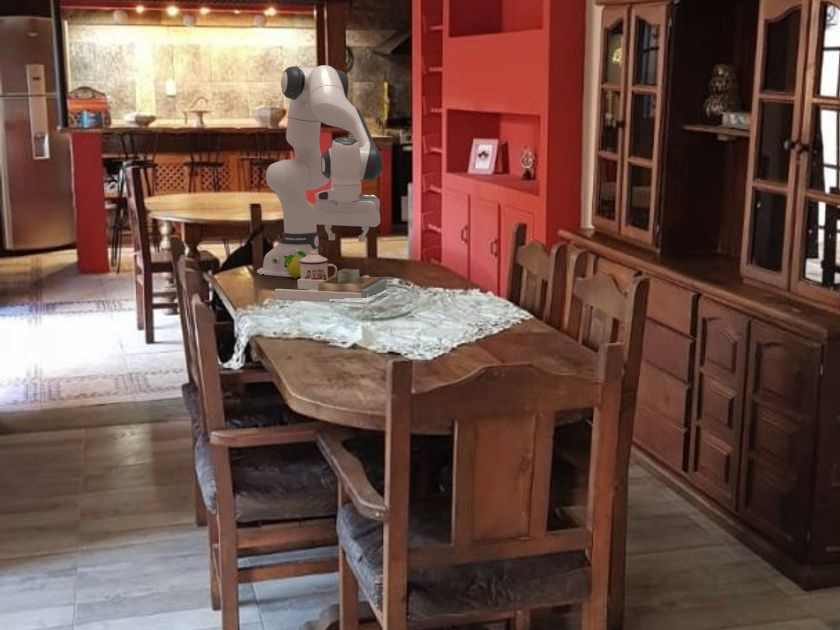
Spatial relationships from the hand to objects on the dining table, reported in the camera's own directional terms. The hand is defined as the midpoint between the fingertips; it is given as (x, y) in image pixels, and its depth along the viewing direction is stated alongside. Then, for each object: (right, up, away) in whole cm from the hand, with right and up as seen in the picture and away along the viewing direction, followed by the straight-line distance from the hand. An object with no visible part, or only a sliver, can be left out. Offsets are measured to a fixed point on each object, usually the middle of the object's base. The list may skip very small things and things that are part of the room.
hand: (346, 240), depth 319 cm
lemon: (-20, -10, +41) cm, 47 cm away
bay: (-5, -17, +5) cm, 19 cm away
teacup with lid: (-11, -13, +25) cm, 31 cm away
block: (0, -16, +3) cm, 16 cm away
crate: (+1, -16, +3) cm, 17 cm away
